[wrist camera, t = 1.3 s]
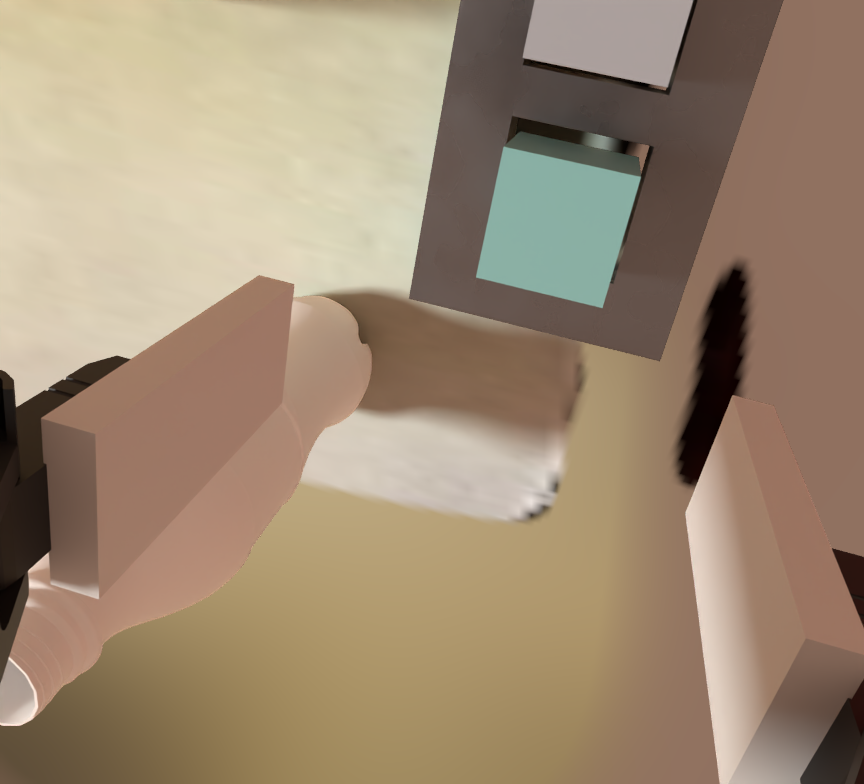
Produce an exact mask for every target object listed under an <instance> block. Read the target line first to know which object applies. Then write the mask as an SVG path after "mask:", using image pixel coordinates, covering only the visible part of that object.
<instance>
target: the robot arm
mask: <svg viewBox="0 0 864 784" xmlns="http://www.w3.org/2000/svg"><path fill="white" fill-rule="evenodd" d="M293 292H294V284H291V283H287V282H284V281H280V280H276V279H272V278H268V277H264V276H260V275H259V276H257V277H256V278H254V279H253V280H251V281H250V282H248V283H246V284H245V285H243V286H242V287H240V288H239V289H237V290H236V291H234V292H233V293H231V294H230V295H228V296H227V297H225V298H224V299H222V300H221V301H219V302H218V303H216V304H214V305H213V306H211V307H210V308H208V309H207V310H205V311H204V312H202V313H201V314H199V315H198V316H196V317H195V318H193V319H192V320H190V321H189V322H187V323H185V324H184V325H182V326H181V327H179V328H178V329H176V330H175V331H173V332H172V333H170V334H169V335H167V336H166V337H164V338H163V339H161V340H160V341H158V342H157V343H155V344H153V345H152V346H150V347H149V348H147V349H146V350H144V351H143V352H141V353H140V354H138V355H137V356H135V357H134V358H132V359H127V358H124V357H120V356H114V357H111V358H107V359H103V360H100V361H96V362H93V363H89V364H87V365H85V366H83V367H82V368H80V369H79V370H77V371H75V372H74V373H72V374H70V375H69V376H67V377H66V380H61V381H59V382H57V383H56V384H54V385H52V386H51V387H49V390H48V391H45V390H44V391H43V392H41V393H39V394H38V395H36V396H34V397H33V398H31V399H29V400H28V401H26V402H25V403H23V404H21V405H20V406H18V407H16V404H15V390H14V380H13V379H12V378H11V377H10V376H9V375H8V374H7V373H6V372H4V371H2V370H0V683H1V680H2V677H3V674H4V671H5V668H6V665H7V661H8V658H9V655H10V652H11V649H12V646H13V643H14V640H15V637H16V633H17V630H18V627H19V624H20V621H21V618H22V615H23V612H24V608H25V605H26V602H27V599H28V596H29V577H28V570H29V569H30V568H32V567H33V566H34V565H35V564H36V563H37V562H38V561H39V560H41V559H42V558H43V557H44V556H45V555H46V554H47V553H48V552H49V565H50V582H51V584H52V585H55V586H58V587H61V588H64V589H67V590H71V591H74V592H77V593H80V594H83V595H86V596H90V597H93V598H96V599H100V598H101V597H102V596H103V595H104V594H105V593H106V592H107V591H108V589H109V588H110V587H111V586H112V585H113V584H114V583H115V582H116V581H117V580H118V579H119V578H120V577H121V576H122V574H123V573H124V572H125V571H126V570H127V569H128V568H129V567H130V566H131V565H132V564H133V563H134V562H135V560H136V559H137V558H138V557H139V556H140V555H141V554H142V553H143V552H144V551H145V550H146V549H147V548H148V547H149V545H150V544H151V543H152V542H153V541H154V540H155V539H156V538H157V537H158V536H159V535H160V534H161V533H162V531H163V530H164V529H165V528H166V527H167V526H168V525H169V524H170V523H171V522H172V521H173V520H174V519H175V518H176V516H177V515H178V514H179V513H180V512H181V511H182V510H183V509H184V508H185V507H186V506H187V505H188V504H189V503H190V501H191V500H192V499H193V498H194V497H195V496H196V495H197V494H198V493H199V492H200V491H201V490H202V489H203V487H204V486H205V485H206V484H207V483H208V482H209V481H210V480H211V479H212V478H213V477H214V476H215V475H216V474H217V472H218V471H219V470H220V469H221V468H222V467H223V466H224V465H225V464H226V463H227V462H228V461H229V460H230V458H231V457H232V456H233V455H234V454H235V453H236V452H237V451H238V450H239V449H240V448H241V447H242V446H243V445H244V443H245V442H246V441H247V440H248V439H249V438H250V437H251V436H252V435H253V434H254V433H255V432H256V431H257V430H258V428H259V427H260V426H261V425H262V424H263V423H264V422H265V421H266V420H267V419H268V418H269V417H270V416H271V414H272V413H273V412H274V411H275V410H276V409H277V408H278V407H279V406H280V405H281V404H282V400H283V390H284V380H285V371H286V361H287V351H288V341H289V331H290V322H291V312H292V302H293ZM685 514H686V522H687V529H688V536H689V545H690V552H691V560H692V568H693V576H694V584H695V591H696V600H697V607H698V615H699V623H700V631H701V639H702V646H703V655H704V662H705V670H706V678H707V686H708V693H709V701H710V709H711V717H712V725H713V733H714V740H715V748H716V756H717V764H718V772H719V780H720V784H864V557H862V556H858V555H855V554H851V553H847V552H843V551H840V550H836V549H833V548H831V546H830V543H829V541H828V539H827V536H826V534H825V531H824V529H823V526H822V524H821V521H820V519H819V516H818V514H817V511H816V509H815V506H814V504H813V501H812V499H811V496H810V494H809V491H808V489H807V486H806V484H805V481H804V480H803V476H802V474H801V472H800V469H799V467H798V464H797V462H796V459H795V457H794V454H793V452H792V449H791V447H790V445H789V442H788V439H787V437H786V434H785V432H784V430H783V427H782V424H781V422H780V420H779V417H778V415H777V412H776V410H775V407H774V405H770V404H766V403H762V402H758V401H754V400H750V399H746V398H742V397H738V396H734V395H732V398H731V400H730V403H729V405H728V408H727V410H726V413H725V415H724V418H723V420H722V423H721V425H720V428H719V430H718V433H717V435H716V438H715V440H714V443H713V445H712V448H711V450H710V453H709V455H708V458H707V460H706V463H705V465H704V468H703V470H702V473H701V475H700V478H699V480H698V483H697V485H696V488H695V490H694V493H693V496H692V498H691V501H690V503H689V506H688V508H687V511H686V513H685Z"/></svg>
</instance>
